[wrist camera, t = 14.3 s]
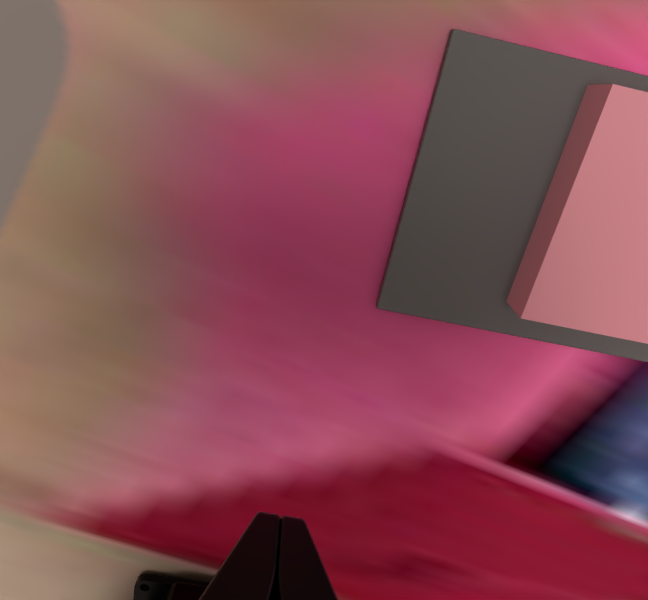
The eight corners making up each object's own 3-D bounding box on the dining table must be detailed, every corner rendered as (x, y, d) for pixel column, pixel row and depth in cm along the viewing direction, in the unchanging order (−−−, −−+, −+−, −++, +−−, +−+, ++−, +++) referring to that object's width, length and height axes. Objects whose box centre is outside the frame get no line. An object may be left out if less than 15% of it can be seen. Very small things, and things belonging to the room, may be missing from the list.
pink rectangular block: (506, 301, 20) (671, 335, 20) (520, 318, 18) (698, 353, 19) (587, 84, 17) (778, 130, 17) (613, 83, 15) (821, 134, 16)
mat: (653, 359, 21) (659, 364, 21) (376, 304, 20) (377, 308, 20) (782, 110, 18) (792, 111, 17) (451, 30, 17) (453, 28, 16)
